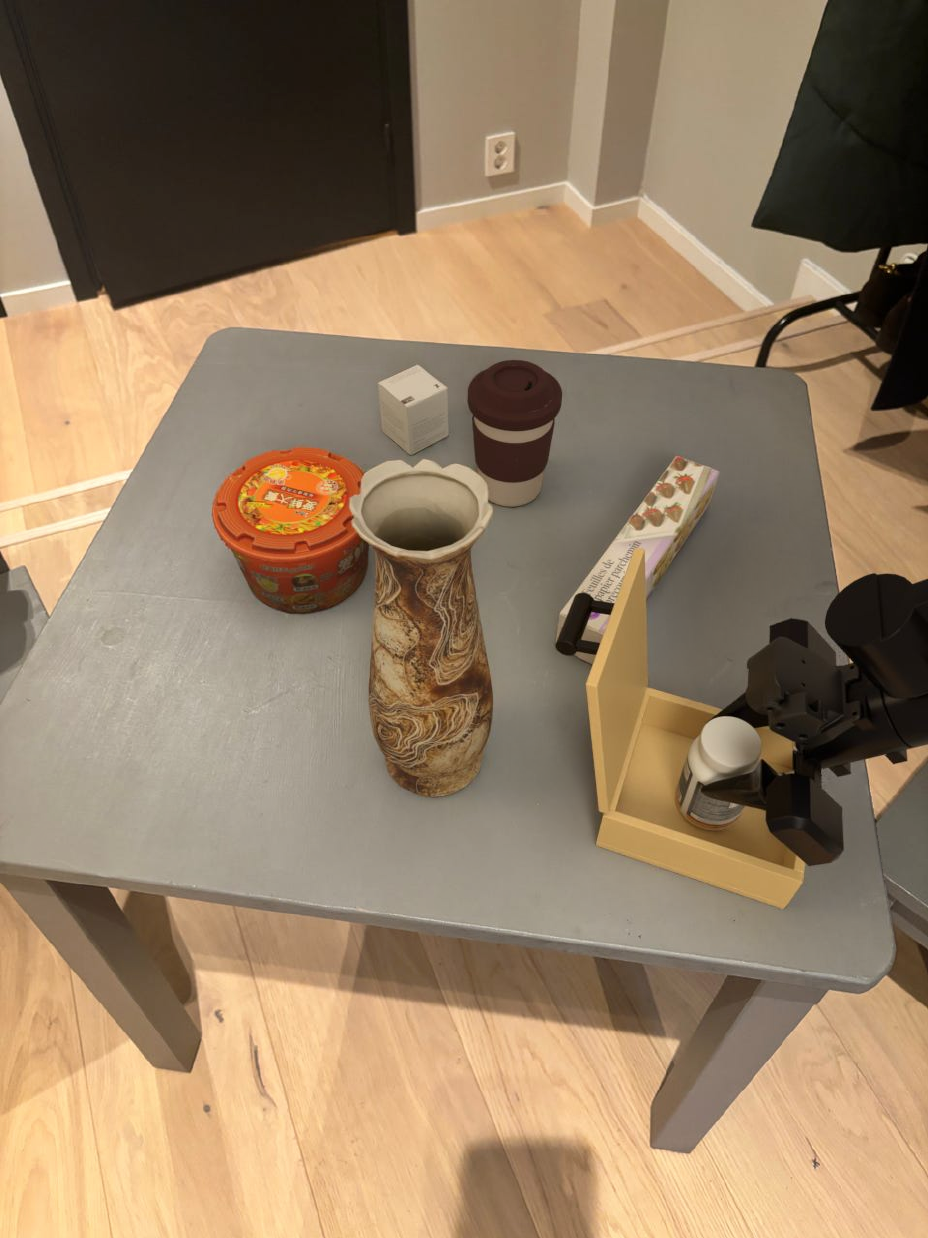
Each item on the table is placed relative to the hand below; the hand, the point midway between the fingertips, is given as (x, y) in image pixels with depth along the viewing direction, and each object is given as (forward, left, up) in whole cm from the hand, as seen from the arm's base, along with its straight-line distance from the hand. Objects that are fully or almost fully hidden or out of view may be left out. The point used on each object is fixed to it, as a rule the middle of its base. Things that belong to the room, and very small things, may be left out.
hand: (706, 759), depth 72 cm
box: (+11, -25, -8) cm, 28 cm away
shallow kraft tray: (-1, 0, -7) cm, 8 cm away
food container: (+44, -13, -8) cm, 46 cm away
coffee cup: (+28, -33, -8) cm, 44 cm away
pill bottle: (-1, 0, -7) cm, 7 cm away
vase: (+23, +3, -8) cm, 24 cm away
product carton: (+42, -38, -8) cm, 57 cm away
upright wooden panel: (+8, 0, +6) cm, 10 cm away
